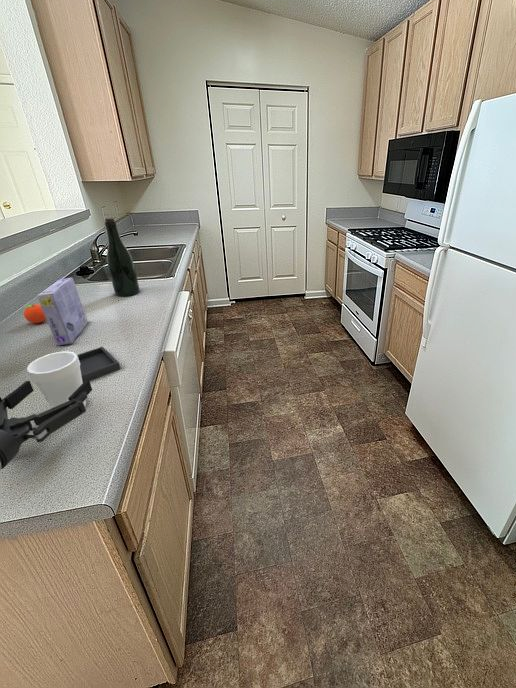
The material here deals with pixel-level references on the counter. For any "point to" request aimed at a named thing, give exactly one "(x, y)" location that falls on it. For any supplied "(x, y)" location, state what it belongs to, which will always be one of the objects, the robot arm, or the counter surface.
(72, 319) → the cake pan box
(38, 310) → the red tomato
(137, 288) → the beer bottle
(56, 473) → the counter surface
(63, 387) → the foam cup
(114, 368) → the shallow black tray
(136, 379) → the counter surface
